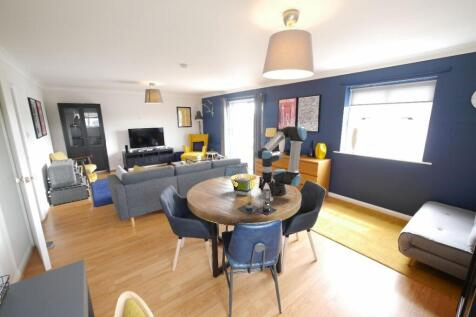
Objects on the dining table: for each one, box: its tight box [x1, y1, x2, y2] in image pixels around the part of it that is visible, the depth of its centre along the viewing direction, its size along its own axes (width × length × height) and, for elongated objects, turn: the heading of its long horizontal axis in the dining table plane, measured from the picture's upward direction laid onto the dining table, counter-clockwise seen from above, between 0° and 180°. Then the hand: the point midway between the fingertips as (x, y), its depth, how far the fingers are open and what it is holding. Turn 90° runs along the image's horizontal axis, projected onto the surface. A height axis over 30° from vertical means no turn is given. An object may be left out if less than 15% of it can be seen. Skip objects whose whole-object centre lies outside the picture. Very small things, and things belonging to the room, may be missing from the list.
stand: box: [256, 198, 278, 216], centre depth 158 cm, size 12×12×10 cm
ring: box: [262, 188, 271, 200], centre depth 156 cm, size 8×8×5 cm
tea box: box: [232, 176, 252, 197], centre depth 194 cm, size 15×10×15 cm, turn 66°
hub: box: [237, 196, 260, 216], centre depth 160 cm, size 14×14×10 cm
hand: (267, 198), depth 157 cm, fingers closed on ring, 8 cm apart
